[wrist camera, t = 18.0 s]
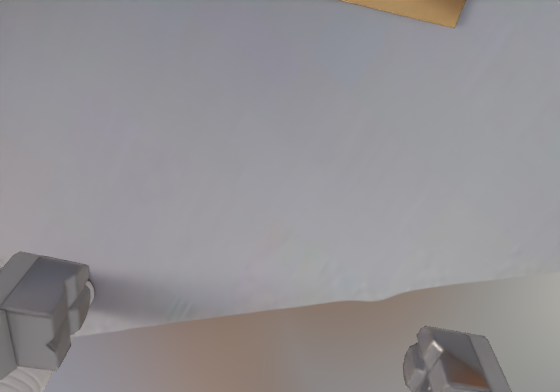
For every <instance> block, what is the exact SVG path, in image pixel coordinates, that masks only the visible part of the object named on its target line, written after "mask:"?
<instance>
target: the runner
mask: <svg viewBox="0 0 560 392" xmlns="http://www.w3.org/2000/svg"><path fill="white" fill-rule="evenodd" d="M341 1H345V2H349V3H353V4H357V5H361V6H365V7H369V8H373V9H377V10H381V11H386V12H390V13H394V14H398V15H402V16H406V17H410V18H414V19H418V20H422V21H426V22H430V23H435V24H439V25H443V26H447V27H451V28H455V26H456V23H457V21H458V18H459V16H460V14H461V11H462V9H463V7H464V4H465V2H466V0H341Z"/></svg>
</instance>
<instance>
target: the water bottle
mask: <svg viewBox="0 0 560 392" xmlns="http://www.w3.org/2000/svg"><path fill="white" fill-rule="evenodd" d="M86 285H87V287H88V288H89V289H90V292H91V298H90V304H91V303H92V301H93V298H94V288H93V286H92V284H91V283H90V281H87V282H86ZM89 306H90V305H89ZM74 334H75V333H73V334H72V335H70V338H71V339H72V337H73V335H74ZM52 372H53V371H50V370H43V369H35V368H28V367H20V366H17V369H15V370H14V371H13V372H11V373H10V374H9V375H7V376H6V377H5V378H3V379H2V380H0V392H43V390H44V388H45V387H46V385H47V383H48V382H49V379H50V377H51V375H52Z"/></svg>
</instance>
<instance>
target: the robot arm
mask: <svg viewBox="0 0 560 392" xmlns="http://www.w3.org/2000/svg"><path fill="white" fill-rule="evenodd" d="M89 277H90V273H89V266H88V265H86V264H81V263H76V262H72V261H67V260H62V259H57V258H52V257H47V256H41V255H36V254H31V253H26V252H21V251H20V252H18V253H17V254H15V255H13V256H12V257H11V258H10V260H9V261H8V262H7V263H6V264H5V265H4V267H3V268H2V269H1V270H0V380H2V379H3V378H5V377H6V376H7V375H9V374H10V373H11V372H13V371H14V370H15V369H17V366H20V367H28V368H35V369H43V370H50V371H58V369H59V367H60V365H61V363H62V362H63V360H64V358H65V356H66V354H67V352H68V350H69V349H70V347H71V338H70V335H72V334H73V333H75V332H77V331H78V330H80V328H81V326H82V324H83V322H84V320H85V318H86V315H87V312H88V309H89V305H90V298H91V292H90V289H89V288H88V287H87V285H86V282H87V281H88V279H89ZM417 339H418V343H416V344H414V345H412V346H410V347H409V349H408V351H407V352H406V354H405V358H404V364H403V373H404V380H405V384H406V386H407V387H408V388H409V389H410V390H411V392H512V391H511V389H510V387H509V385H508V382H507V380H506V378H505V376H504V374H503V371H502V369H501V367H500V365H499V363H498V361H497V358H496V356H495V354H494V352H493V349H492V347H491V345H490V343H489V341H488V339H487V338H486V337H485V336H482V335H476V334H470V333H463V332H459V331H453V330H447V329H442V328H436V327H430V326H424V327H422V328H421V329H420V330H419V332H418V334H417Z"/></svg>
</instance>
